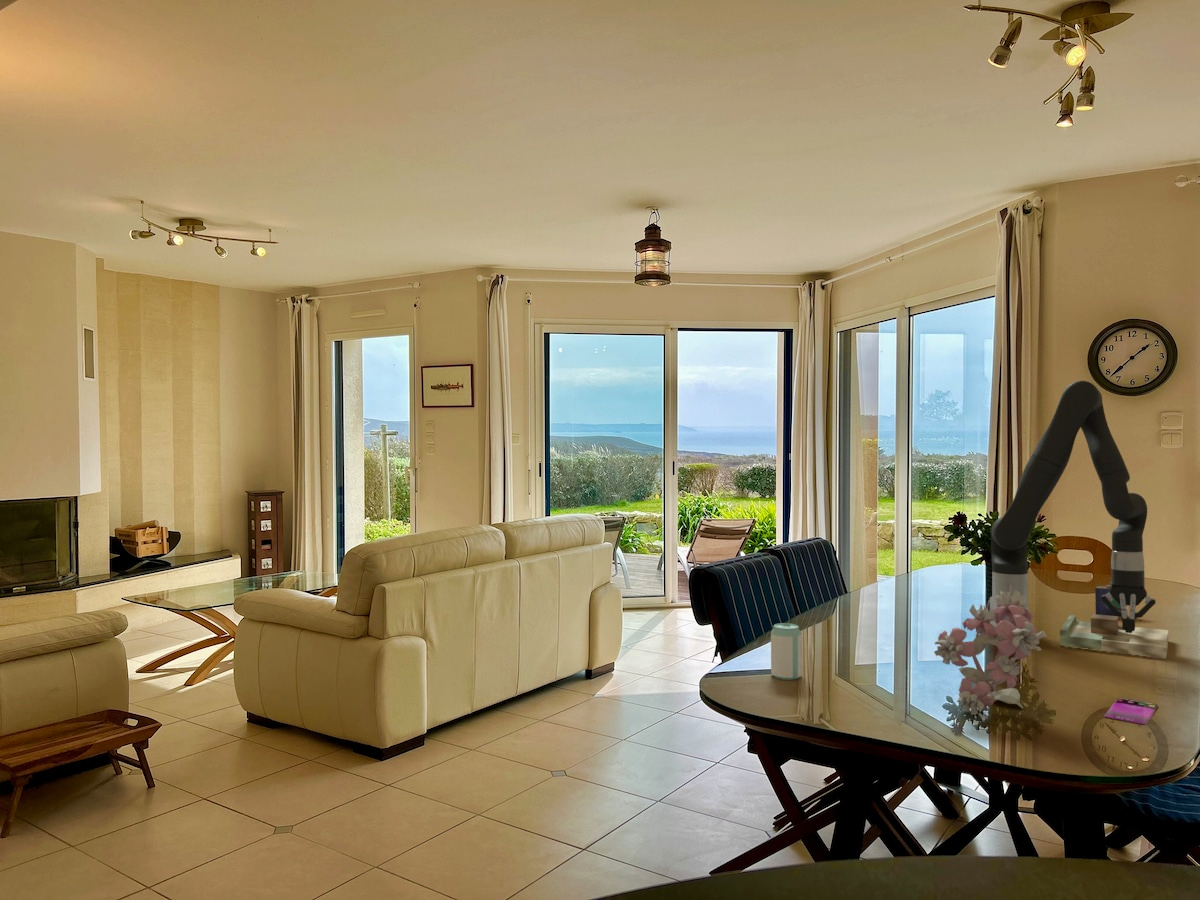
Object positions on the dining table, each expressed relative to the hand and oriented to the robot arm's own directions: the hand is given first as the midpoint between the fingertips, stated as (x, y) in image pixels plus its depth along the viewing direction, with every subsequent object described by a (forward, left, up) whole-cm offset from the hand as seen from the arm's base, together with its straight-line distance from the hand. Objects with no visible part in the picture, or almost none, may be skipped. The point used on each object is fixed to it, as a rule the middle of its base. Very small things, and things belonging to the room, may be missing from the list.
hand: (1128, 632), depth 224 cm
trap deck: (-3, +2, -4) cm, 5 cm away
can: (-95, -36, -4) cm, 102 cm away
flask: (+15, +40, -4) cm, 43 cm away
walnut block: (-5, +3, -1) cm, 6 cm away
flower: (-57, -57, -4) cm, 81 cm away
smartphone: (-29, -57, -4) cm, 64 cm away
